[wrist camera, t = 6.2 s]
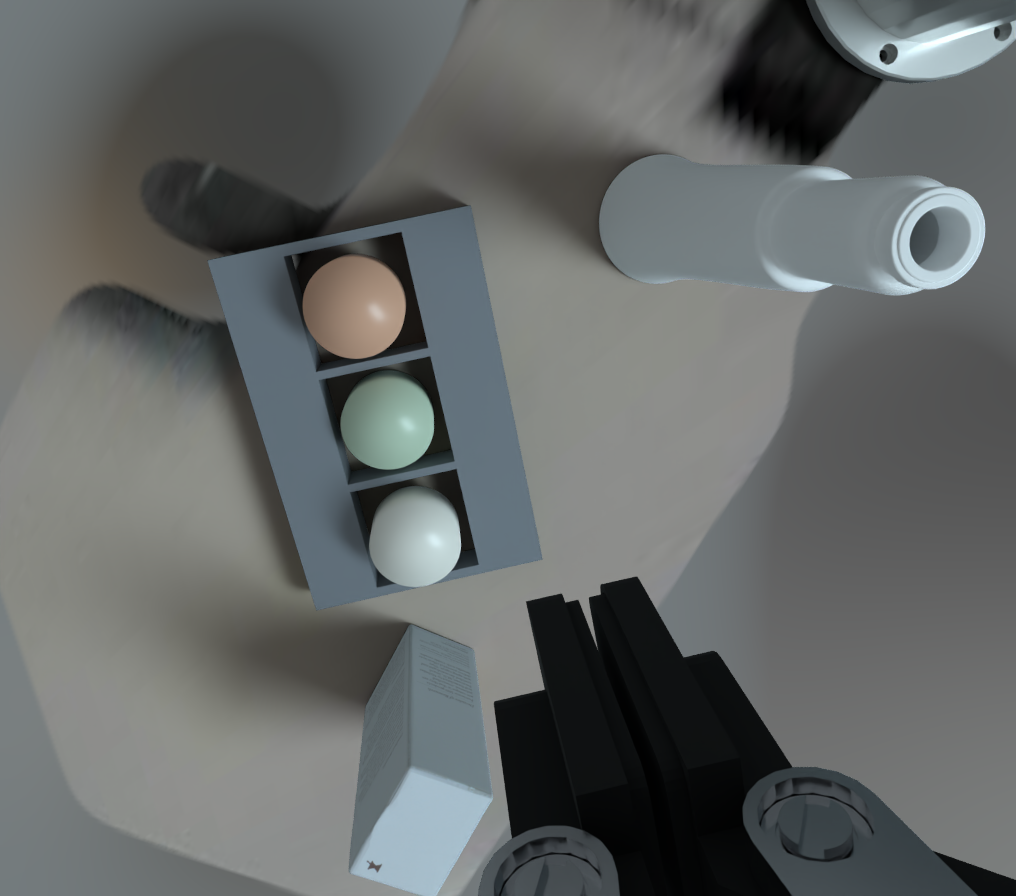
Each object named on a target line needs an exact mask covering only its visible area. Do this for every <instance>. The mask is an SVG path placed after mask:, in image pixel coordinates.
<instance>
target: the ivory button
mask: <svg viewBox="0 0 1016 896" xmlns="http://www.w3.org/2000/svg"><path fill="white" fill-rule="evenodd" d="M369 550H370V555H371V558H372V561H373V563H374V565H375V567H376V568H377V569H378V571H379V572H380V573H381V574H382V575H383V576H385V577H386V578H387V579H389V580H390V581H392V582H394V583H396V584H399V585H402V586H408V587H421V586H427V585H430V584H433V583H435V582H437V581H439V580H441V579H442V578H444V577H445V576H446V575H447V574H448V573H449V572H451V570H452V569H453V568H454V566H455V565H456V563H457V561H458V558H459V555H460V551H461V538H460V528H459V520H458V515H457V512H456V510H455V508H454V506H453V505H452V503H451V502H450V501H449V500H448V499H447V498H446V497H445V496H444V495H443V494H441V493H440V492H438V491H436V490H434V489H431V488H428V487H423V486H410V487H404V488H401V489H398V490H396V491H394V492H392V493H391V494H389V495H388V496H387V497H386V498H385V499H384V500H383V501H382V502H381V503H380V504H379V506H378V508H377V509H376V512H375V514H374V518H373V523H372V529H371V535H370V542H369Z"/></svg>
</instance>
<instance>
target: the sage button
mask: <svg viewBox="0 0 1016 896" xmlns="http://www.w3.org/2000/svg"><path fill="white" fill-rule="evenodd" d="M341 433H342V437H343V440H344V442H345V444H346V446H347V448H348V449H349V450H350V452H351V453H352V454H353V455H354V456H355V457H356V458H357V459H358V460H360V461H361V462H363V463H365V464H367V465H369V466H371V467H374V468H378V469H386V470H389V469H398V468H402V467H405V466H407V465H410V464H411V463H413V462H415V461H416V460H417V459H419V458H420V457H421V456H422V455H423V454H424V453H425V451H426V450H427V448H428V447H429V445H430V443H431V440H432V437H433V433H434V411H433V404H432V400H431V397H430V395H429V393H428V392H427V390H426V388H425V387H424V386H423V385H422V384H421V383H420V382H419V381H418V380H417V379H415V378H414V377H412V376H410V375H408V374H406V373H403V372H400V371H395V370H383V371H378V372H374V373H372V374H369V375H367V376H366V377H364V378H363V379H361V380H360V381H359V382H358V383H357V384H356V385H355V386H354V388H353V389H352V390H351V392H350V394H349V396H348V399H347V401H346V404H345V406H344V409H343V412H342V416H341Z"/></svg>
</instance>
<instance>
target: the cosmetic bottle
mask: <svg viewBox="0 0 1016 896" xmlns="http://www.w3.org/2000/svg"><path fill="white" fill-rule="evenodd" d="M599 231H600V237H601V241H602V244H603V247H604V249H605V251H606V253H607V255H608V257H609V258H610V260H611V261H612V262H613V264H614V265H615V266H616V267H617V268H618V269H619V270H620V271H622V272H623V273H624V274H626V275H627V276H629V277H631V278H633V279H635V280H638V281H641V282H645V283H651V284H660V283H668V282H672V281H675V280H680V279H694V280H704V281H713V282H720V283H727V284H734V285H741V286H748V287H756V288H764V289H773V290H784V291H795V292H812V291H817V290H821V289H824V288H827V287H829V286H831V285H833V284H835V285H840V286H845V287H850V288H855V289H860V290H866V291H871V292H876V293H881V294H886V295H905V294H910V293H914V292H917V291H920V290H923V289H937V288H941V287H945V286H947V285H950V284H951V283H953V282H955V281H957V280H958V279H959V278H961V277H962V276H963V275H964V274H966V272H967V271H968V270H969V269H970V268H971V267H972V265H973V264H974V263H975V261H976V260H977V258H978V256H979V254H980V252H981V249H982V246H983V243H984V237H985V221H984V216H983V213H982V210H981V208H980V206H979V205H978V203H977V202H976V200H975V199H974V198H973V197H972V196H970V195H969V194H968V193H967V192H965V191H963V190H961V189H958V188H954V187H946V186H945V185H943V184H942V183H940V182H938V181H936V180H934V179H931V178H928V177H924V176H916V175H915V176H914V175H912V176H893V177H876V178H859V179H852V178H851V177H850V176H848V175H847V174H845V173H844V172H842V171H840V170H837V169H834V168H831V167H825V166H805V165H708V164H699V163H694V162H691V161H689V160H687V159H685V158H682V157H679V156H675V155H669V154H659V155H652V156H648V157H645V158H642V159H639V160H637V161H635V162H634V163H632V164H630V165H629V166H627V167H626V168H625V169H624V170H623V171H621V172H620V173H619V174H618V176H617V177H616V178H615V179H614V180H613V182H612V183H611V184H610V186H609V188H608V190H607V191H606V194H605V196H604V198H603V201H602V205H601V209H600V215H599Z"/></svg>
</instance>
